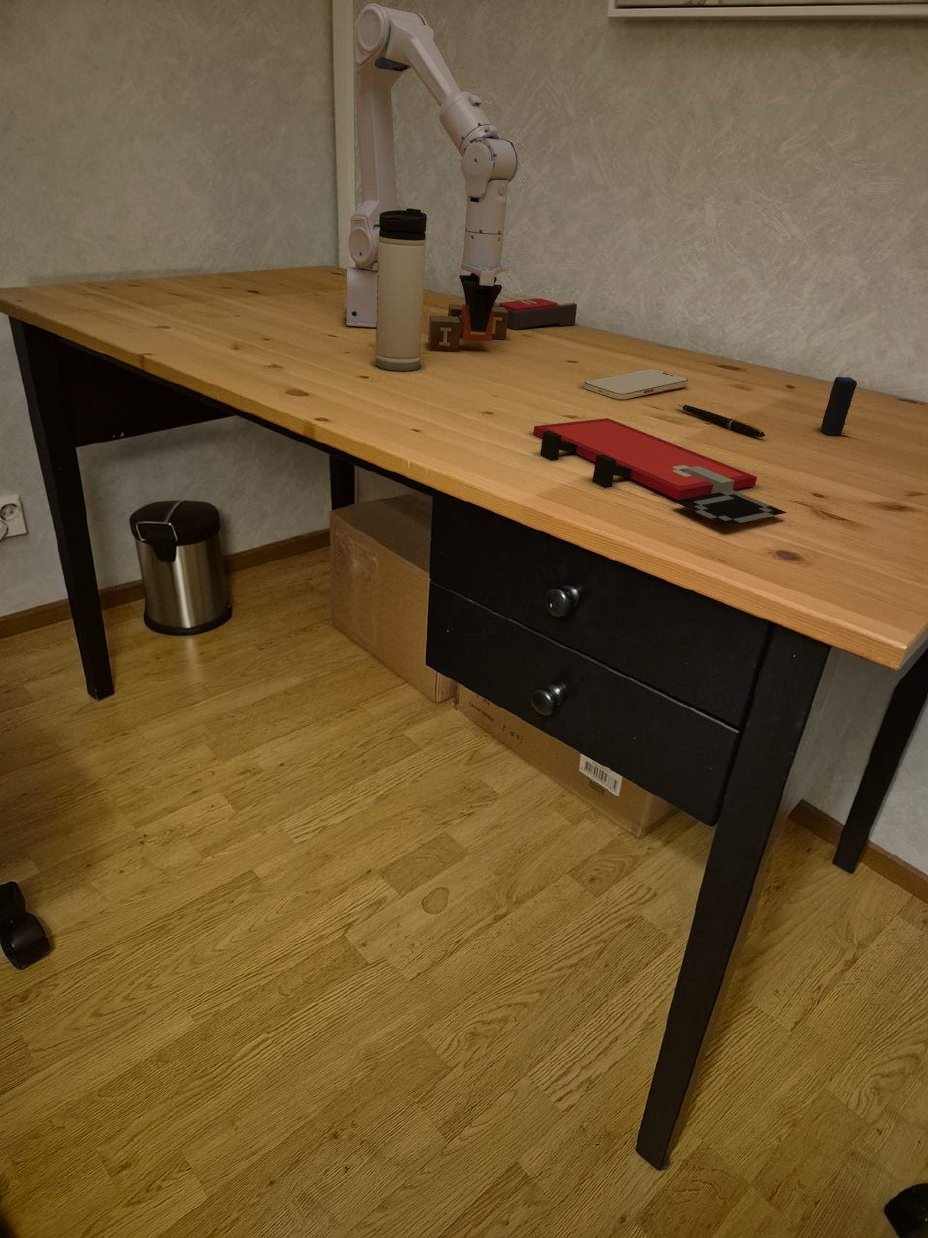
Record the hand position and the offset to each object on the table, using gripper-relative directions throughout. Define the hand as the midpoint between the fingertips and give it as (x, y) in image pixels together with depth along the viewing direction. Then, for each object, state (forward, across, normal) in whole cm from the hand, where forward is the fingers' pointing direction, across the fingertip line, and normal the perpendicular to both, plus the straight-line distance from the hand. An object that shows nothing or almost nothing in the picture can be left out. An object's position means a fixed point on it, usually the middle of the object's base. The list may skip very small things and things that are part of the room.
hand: (476, 327), depth 133 cm
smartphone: (+3, -19, -21) cm, 28 cm away
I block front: (+3, 0, +5) cm, 6 cm away
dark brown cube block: (+3, +11, +1) cm, 11 cm away
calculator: (+3, +26, -13) cm, 29 cm away
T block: (+3, +11, -4) cm, 12 cm away
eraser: (+3, -37, -40) cm, 55 cm away
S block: (+1, 0, 0) cm, 1 cm away
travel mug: (+3, -13, +12) cm, 18 cm away
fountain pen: (+3, -35, -26) cm, 44 cm away
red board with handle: (+3, -54, -12) cm, 55 cm away
